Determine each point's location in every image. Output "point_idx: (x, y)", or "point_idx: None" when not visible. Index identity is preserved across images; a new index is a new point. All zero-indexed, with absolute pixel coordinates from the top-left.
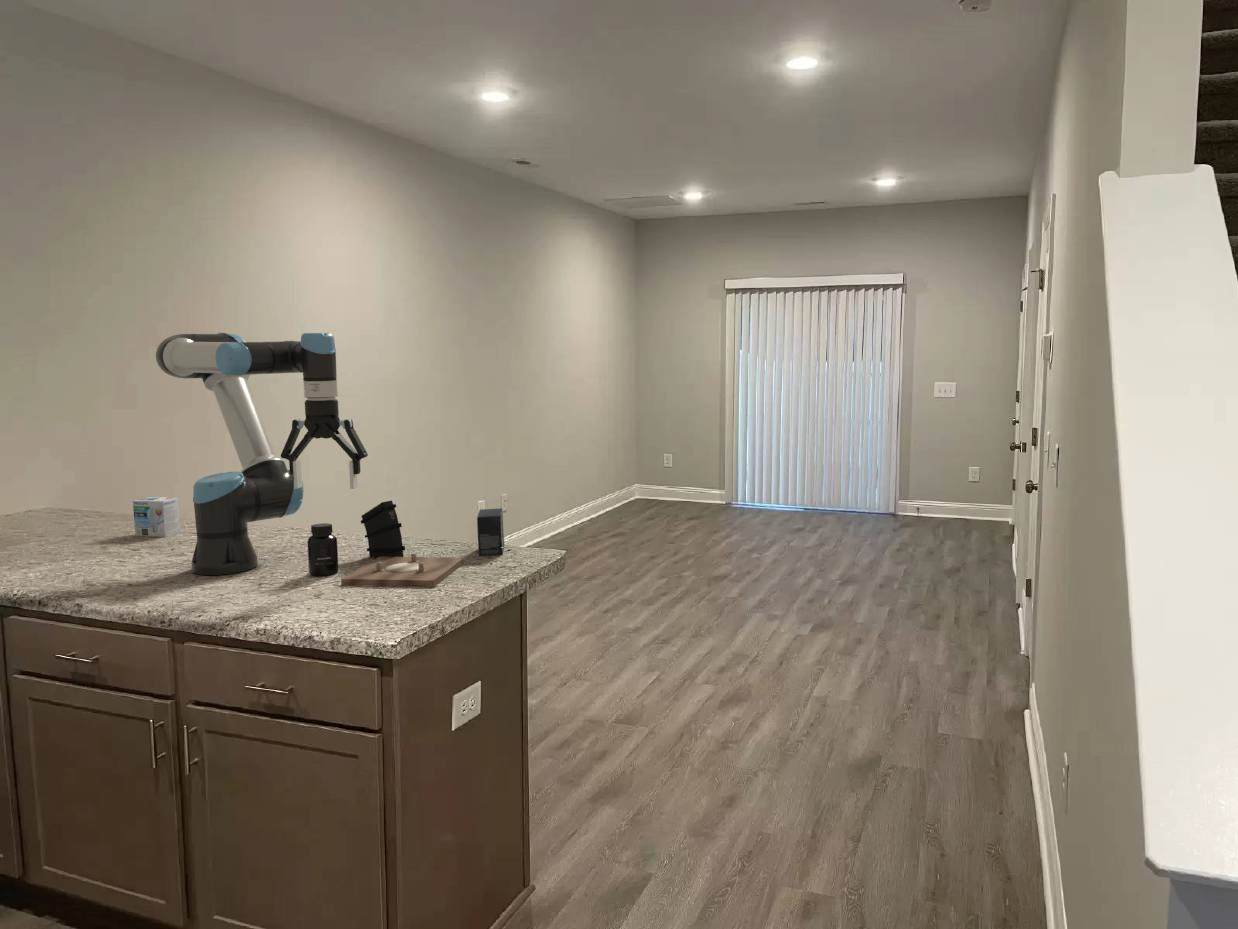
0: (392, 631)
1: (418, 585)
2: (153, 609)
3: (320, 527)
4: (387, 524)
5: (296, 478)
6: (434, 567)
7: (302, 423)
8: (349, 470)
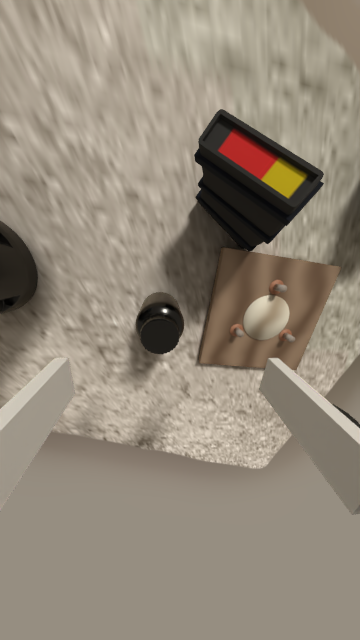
0: (261, 457)
1: None
2: None
3: (164, 352)
4: (267, 233)
5: (50, 428)
6: (300, 318)
7: None
8: (307, 454)
